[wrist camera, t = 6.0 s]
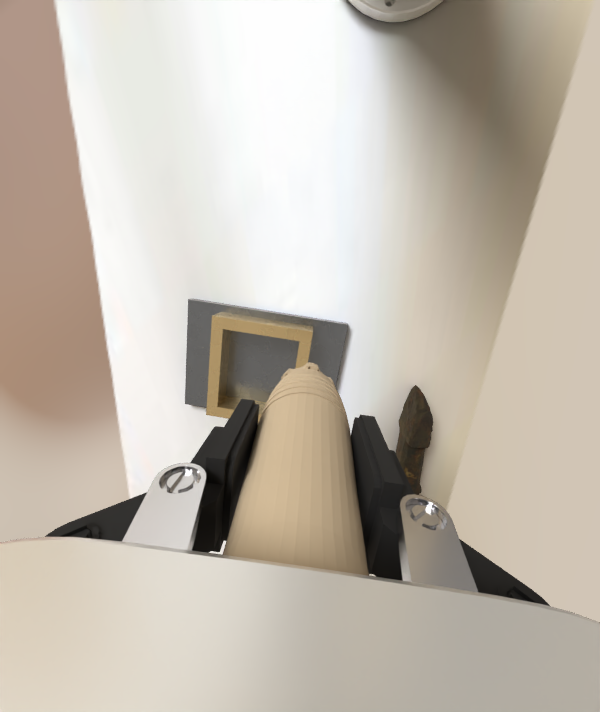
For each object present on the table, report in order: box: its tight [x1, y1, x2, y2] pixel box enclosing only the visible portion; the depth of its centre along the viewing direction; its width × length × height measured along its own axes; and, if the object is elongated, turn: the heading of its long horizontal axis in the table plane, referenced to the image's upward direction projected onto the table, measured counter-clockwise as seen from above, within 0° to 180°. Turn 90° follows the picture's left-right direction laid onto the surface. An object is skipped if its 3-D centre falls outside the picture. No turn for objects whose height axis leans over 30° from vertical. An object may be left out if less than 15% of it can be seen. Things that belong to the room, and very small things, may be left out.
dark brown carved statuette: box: [396, 385, 433, 495], centre depth 34 cm, size 19×4×5 cm, turn 176°
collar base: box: [185, 299, 348, 423], centre depth 32 cm, size 13×18×4 cm
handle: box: [223, 362, 369, 576], centre depth 10 cm, size 5×6×15 cm
